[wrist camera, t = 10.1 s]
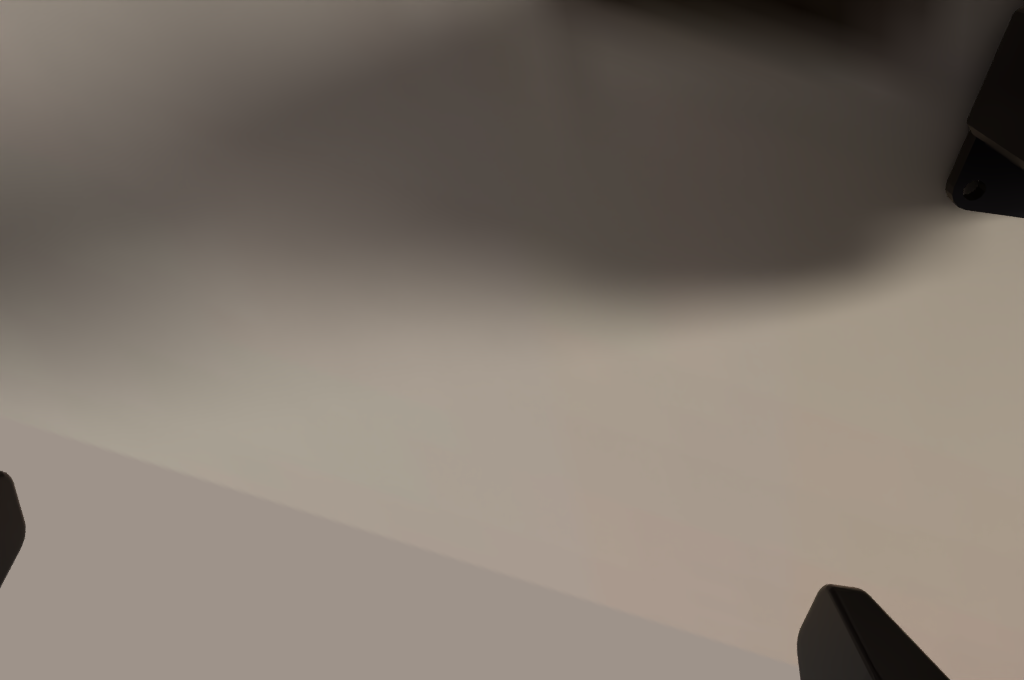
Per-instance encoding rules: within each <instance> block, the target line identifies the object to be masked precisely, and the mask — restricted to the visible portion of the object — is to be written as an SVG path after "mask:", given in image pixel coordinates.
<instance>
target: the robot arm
mask: <svg viewBox="0 0 1024 680" xmlns="http://www.w3.org/2000/svg"><path fill="white" fill-rule="evenodd" d="M967 124H968V126H969V128H970V131H969V133H968V135H967V137H966V140H965V142H964V144H963V147H962V149H961V151H960V153H959V156H958V158H957V160H956V162H955V165H954V167H953V169H952V172H951V174H950V176H949V178H948V181H947V184H946V189H945V190H946V194H947V197H948V198H949V199H950V200H951V201H952V202H953V203H954V204H955V205H957V206H958V207H959V208H962V209H965V210H970V211H977V212H985V213H992V214H999V215H1006V216H1013V217H1020V218H1024V6H1022V7H1021V8H1020V9H1018V10H1017V11H1016V12H1015V13H1014V14H1013V16H1012V18H1011V21H1010V23H1009V25H1008V27H1007V30H1006V32H1005V34H1004V37H1003V39H1002V41H1001V44H1000V46H999V48H998V50H997V53H996V55H995V57H994V60H993V62H992V64H991V67H990V69H989V71H988V73H987V76H986V78H985V80H984V83H983V85H982V87H981V90H980V92H979V94H978V96H977V99H976V101H975V103H974V106H973V108H972V110H971V113H970V115H969V117H968V120H967ZM975 180H979V182H978V186H977V188H976V189H975V190H974V191H973V192H971V193H969V194H963V191H964V188H965V187H966V185H967V184H968V183H970V182H972V181H975ZM24 538H25V521H24V517H23V514H22V510H21V507H20V504H19V500H18V497H17V493H16V489H15V486H14V482H13V480H12V478H11V477H10V476H9V475H8V474H7V473H5V472H3V471H0V587H1V585H2V583H3V582H4V580H5V578H6V576H7V574H8V572H9V570H10V568H11V566H12V564H13V562H14V560H15V559H16V556H17V555H18V553H19V551H20V549H21V547H22V544H23V541H24ZM797 655H798V663H799V671H800V679H801V680H950V679H949V678H948V677H947V676H946V675H945V674H944V673H943V672H942V671H941V670H940V669H939V668H938V667H937V665H936V664H935V663H934V662H933V661H932V660H931V659H930V658H929V657H928V656H927V655H926V654H925V653H924V652H923V651H922V650H921V649H920V648H919V647H918V646H917V645H916V643H915V642H914V641H913V640H912V639H911V638H910V637H909V636H908V635H907V634H906V633H905V632H904V631H903V630H902V629H901V628H900V627H899V626H898V625H897V624H896V623H895V622H894V620H893V619H892V618H891V617H890V616H889V615H888V614H887V613H886V612H885V611H884V610H883V609H882V608H881V607H880V606H879V605H878V604H877V603H876V602H875V601H874V600H873V599H872V597H871V596H870V595H868V594H867V593H866V592H865V591H863V590H862V589H859V588H855V587H848V586H841V585H833V584H827V585H825V586H823V587H822V588H821V589H820V590H819V592H818V593H817V595H816V597H815V599H814V601H813V604H812V606H811V608H810V610H809V612H808V614H807V616H806V618H805V620H804V622H803V624H802V626H801V628H800V631H799V634H798V640H797Z"/></svg>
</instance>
